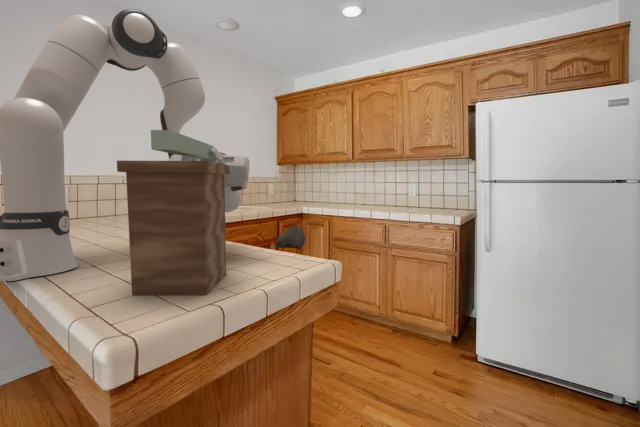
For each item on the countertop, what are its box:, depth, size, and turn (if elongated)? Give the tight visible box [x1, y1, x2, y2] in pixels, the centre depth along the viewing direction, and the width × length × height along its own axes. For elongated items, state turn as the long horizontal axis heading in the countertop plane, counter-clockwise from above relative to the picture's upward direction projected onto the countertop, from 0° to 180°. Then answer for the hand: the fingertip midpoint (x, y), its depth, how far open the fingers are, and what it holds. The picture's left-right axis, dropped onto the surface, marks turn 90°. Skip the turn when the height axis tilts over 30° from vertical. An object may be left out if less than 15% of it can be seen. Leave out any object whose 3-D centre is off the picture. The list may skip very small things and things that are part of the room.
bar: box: [150, 129, 215, 160], centre depth 72 cm, size 26×3×3 cm, turn 1°
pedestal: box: [116, 160, 230, 296], centre depth 69 cm, size 16×16×25 cm
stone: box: [275, 225, 306, 251], centre depth 109 cm, size 10×8×10 cm
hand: (201, 149), depth 81 cm, fingers closed on bar, 3 cm apart
